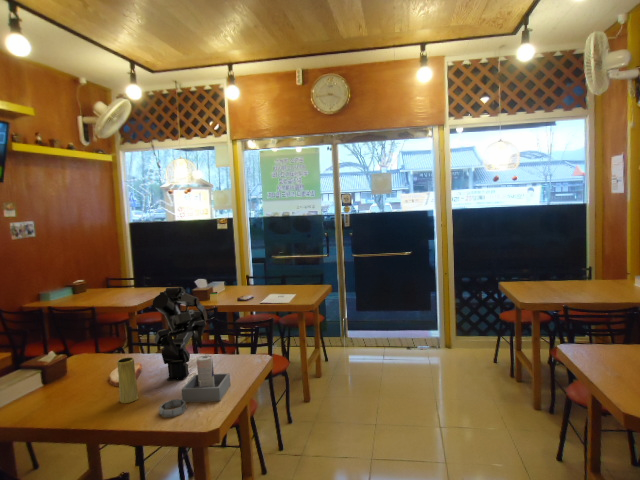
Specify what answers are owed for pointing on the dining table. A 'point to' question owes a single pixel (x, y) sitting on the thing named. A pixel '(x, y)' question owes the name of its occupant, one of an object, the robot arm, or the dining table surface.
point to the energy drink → (205, 371)
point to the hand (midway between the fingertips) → (190, 350)
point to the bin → (206, 389)
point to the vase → (127, 380)
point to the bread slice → (115, 377)
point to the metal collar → (172, 412)
